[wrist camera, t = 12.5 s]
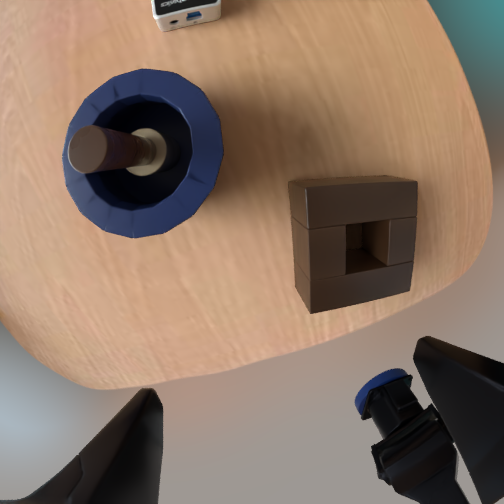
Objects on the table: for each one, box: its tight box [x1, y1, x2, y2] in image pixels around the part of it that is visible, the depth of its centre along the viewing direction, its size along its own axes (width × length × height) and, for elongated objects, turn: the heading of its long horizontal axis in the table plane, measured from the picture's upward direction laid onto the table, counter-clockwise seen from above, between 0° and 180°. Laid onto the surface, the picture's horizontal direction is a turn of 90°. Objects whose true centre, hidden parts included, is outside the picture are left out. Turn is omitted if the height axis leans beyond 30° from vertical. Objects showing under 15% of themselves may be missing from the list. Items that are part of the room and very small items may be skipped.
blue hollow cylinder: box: [62, 69, 224, 238], centre depth 13 cm, size 8×8×6 cm
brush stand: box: [288, 175, 417, 314], centre depth 18 cm, size 8×8×4 cm
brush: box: [68, 125, 180, 176], centre depth 11 cm, size 2×2×10 cm
